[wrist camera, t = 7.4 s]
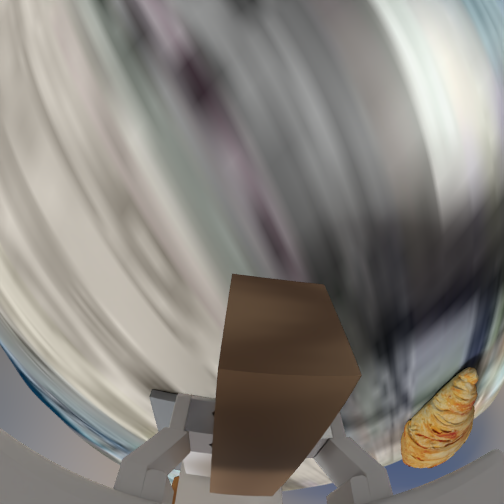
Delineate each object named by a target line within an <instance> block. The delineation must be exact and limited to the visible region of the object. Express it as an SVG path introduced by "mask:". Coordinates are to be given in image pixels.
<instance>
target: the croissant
mask: <svg viewBox="0 0 504 504" xmlns="http://www.w3.org/2000/svg"><path fill="white" fill-rule="evenodd" d="M478 379H479V376H478V375H477V371H476V370H475V368H471V367H468V368H466V369H464V370H463V371H461V372H460V373H459V374H457V375H456V376H455V377H454V378H453V379H452V380H451V381H450V382H449V383H447V384H446V385H445V386H444V387H443V388H442V389H441V390H440V391H439V392H438V393H437V394H436V395H435V396H434V397H433V398H432V399H431V400H430V401H429V402H428V403H427V404H425V405H424V406H423V408H422V409H421V410H419V411H418V412H417V413H416V414H415V415H414V416H413V417H412V420H409V421H408V422H407V423H406V425H405V428H404V432H403V434H402V438H401V454H402V457H403V462H404V463H405V464H406V465H408V466H409V467H410V466H412V467H414V468H417V467H419V468H424V467H427V468H432V467H434V466H437V465H438V464H441V463H443V462H445V461H446V460H447V459H449V458H450V457H452V456H453V455H454V453H455V452H456V451H457V450H458V449H459V448H460V447H461V446H462V444H463V443H465V441H466V440H467V438H468V436H469V434H470V432H471V429H472V424H473V417H474V411H475V410H474V406H473V404H474V403H475V400H476V399H477V391H476V385H475V384H476V383H477V381H478Z"/></svg>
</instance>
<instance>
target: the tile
mask: <svg viewBox="0 0 504 504" xmlns="http://www.w3.org/2000/svg"><path fill="white" fill-rule="evenodd" d="M175 504H282V486H281V487H280V488H279V490H278V491H277V492H276V493H275V494H274V495H273V496H241V495H227V494H217V493H210V477H206V476H199V475H192V474H187V473H186V472H185V467H184V462H183V461H182V464H181V470H180V476H179V481H178V487H177V493H176V500H175Z"/></svg>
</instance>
